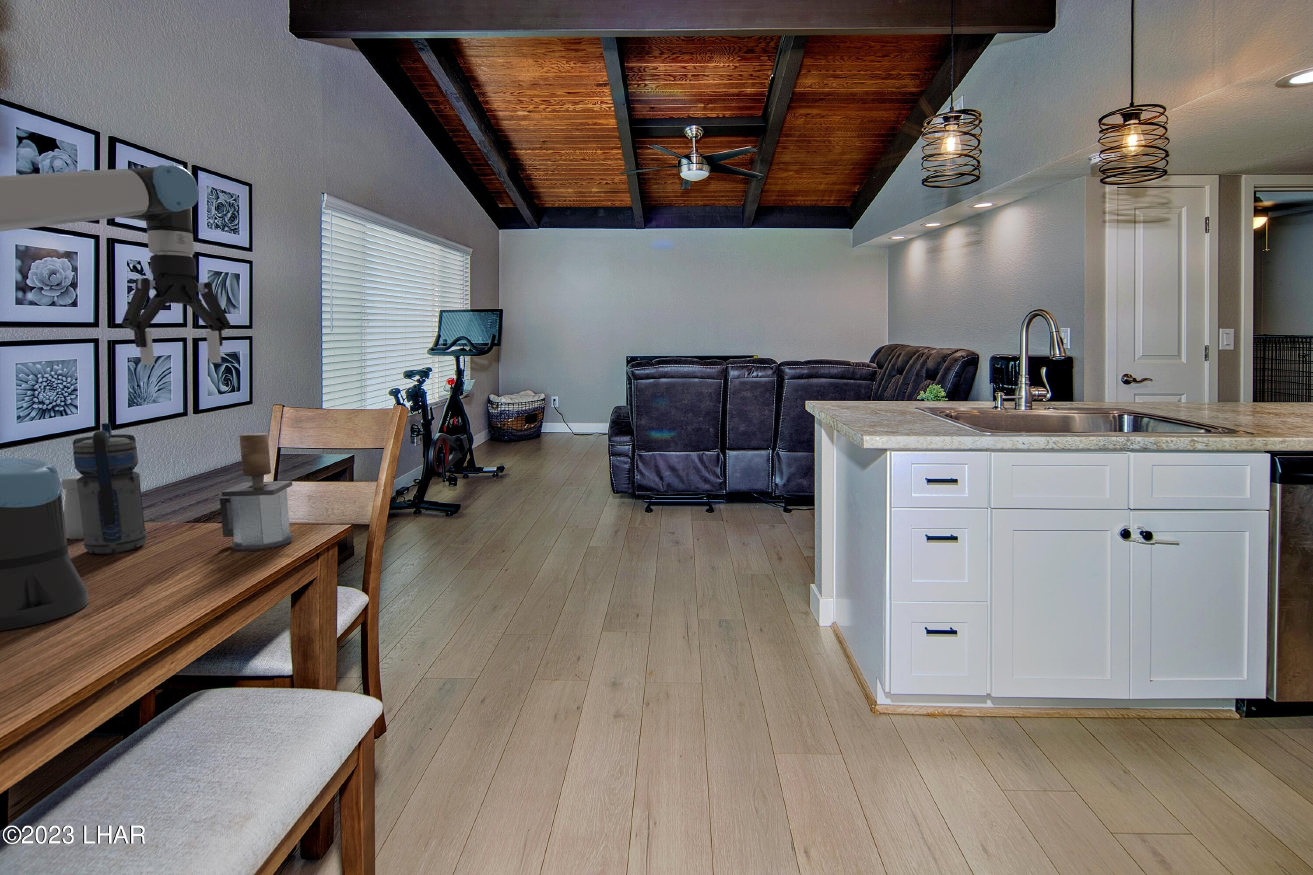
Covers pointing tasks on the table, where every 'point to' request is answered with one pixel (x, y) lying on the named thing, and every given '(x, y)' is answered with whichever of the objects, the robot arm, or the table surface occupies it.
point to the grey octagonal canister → (256, 516)
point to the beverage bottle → (109, 492)
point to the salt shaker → (72, 509)
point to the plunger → (255, 457)
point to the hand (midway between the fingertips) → (183, 363)
